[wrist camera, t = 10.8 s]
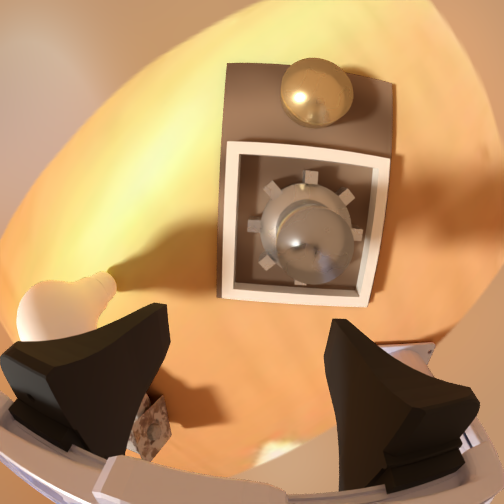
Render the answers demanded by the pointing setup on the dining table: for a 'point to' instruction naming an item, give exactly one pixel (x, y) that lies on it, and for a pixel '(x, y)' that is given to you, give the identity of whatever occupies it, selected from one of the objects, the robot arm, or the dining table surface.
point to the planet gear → (306, 230)
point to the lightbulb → (64, 307)
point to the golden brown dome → (315, 93)
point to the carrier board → (297, 161)
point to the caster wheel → (150, 429)
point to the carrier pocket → (299, 293)
